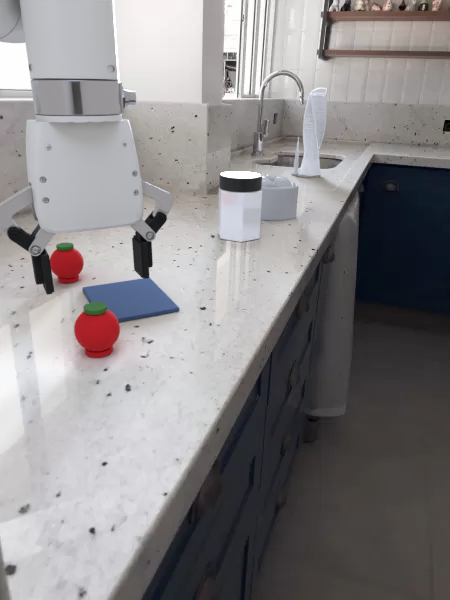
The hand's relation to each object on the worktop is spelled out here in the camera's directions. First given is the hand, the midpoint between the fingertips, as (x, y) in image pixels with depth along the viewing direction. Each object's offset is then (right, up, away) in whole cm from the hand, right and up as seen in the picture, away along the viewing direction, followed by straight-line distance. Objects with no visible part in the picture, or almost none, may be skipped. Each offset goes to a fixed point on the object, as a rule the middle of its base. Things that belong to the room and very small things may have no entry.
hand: (96, 281), depth 50 cm
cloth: (0, -2, +16) cm, 16 cm away
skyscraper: (+42, +41, +116) cm, 130 cm away
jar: (+16, +11, +46) cm, 50 cm away
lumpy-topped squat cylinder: (+23, +18, +63) cm, 70 cm away
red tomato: (-10, +1, +23) cm, 25 cm away
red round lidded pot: (-1, -8, +3) cm, 8 cm away
